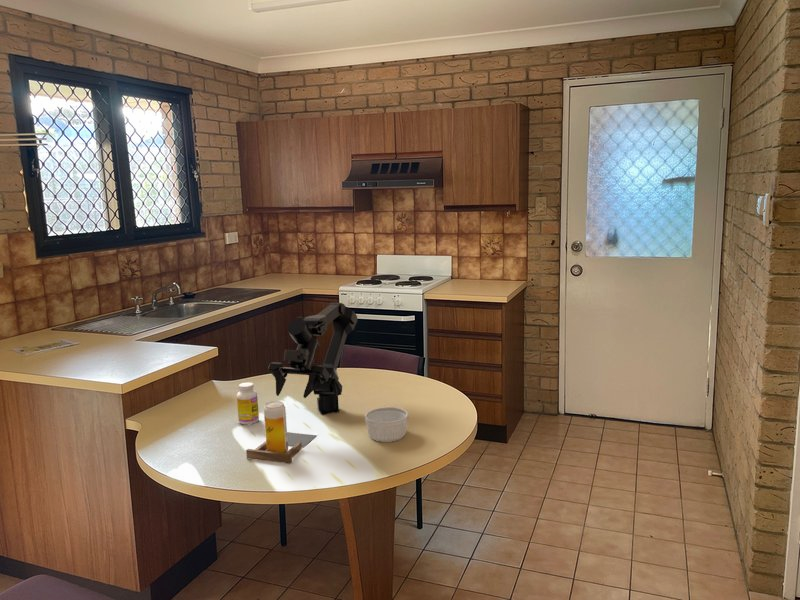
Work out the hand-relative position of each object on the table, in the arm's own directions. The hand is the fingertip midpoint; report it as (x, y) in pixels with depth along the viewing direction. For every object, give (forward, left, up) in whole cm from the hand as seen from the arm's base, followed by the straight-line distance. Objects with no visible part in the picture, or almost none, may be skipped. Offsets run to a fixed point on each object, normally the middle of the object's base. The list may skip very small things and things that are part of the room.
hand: (290, 396), depth 192 cm
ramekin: (-28, +7, -14) cm, 32 cm away
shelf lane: (+6, +8, -14) cm, 17 cm away
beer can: (+6, +8, -14) cm, 17 cm away
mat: (0, 0, -14) cm, 14 cm away
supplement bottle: (+12, -21, -14) cm, 28 cm away
